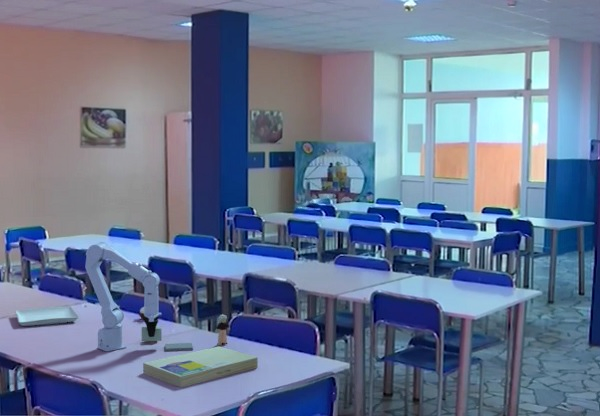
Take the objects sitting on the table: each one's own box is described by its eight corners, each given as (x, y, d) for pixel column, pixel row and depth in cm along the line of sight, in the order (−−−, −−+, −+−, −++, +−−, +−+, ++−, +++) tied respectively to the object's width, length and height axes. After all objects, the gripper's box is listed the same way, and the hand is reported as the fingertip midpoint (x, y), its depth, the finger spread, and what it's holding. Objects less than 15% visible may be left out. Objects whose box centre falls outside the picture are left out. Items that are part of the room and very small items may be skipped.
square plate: (14, 317, 368) (14, 309, 368) (71, 313, 380) (71, 305, 379) (18, 329, 344) (18, 320, 343) (79, 324, 355) (79, 315, 355)
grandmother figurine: (220, 346, 313) (220, 316, 312) (213, 344, 315) (213, 315, 315) (232, 342, 319) (232, 313, 318) (225, 341, 322) (225, 312, 321)
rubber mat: (191, 345, 315) (191, 342, 315) (192, 349, 307) (192, 347, 307) (165, 346, 313) (165, 343, 313) (165, 351, 305) (165, 348, 305)
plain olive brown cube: (157, 343, 318) (157, 332, 318) (146, 343, 318) (146, 333, 317) (157, 340, 323) (157, 330, 323) (146, 340, 322) (146, 330, 322)
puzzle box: (258, 369, 282) (219, 356, 299) (258, 357, 282) (219, 345, 299) (179, 389, 257) (141, 374, 274) (179, 376, 257) (141, 362, 274)
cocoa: (136, 319, 365) (135, 295, 364) (147, 317, 370) (146, 293, 369) (147, 322, 358) (145, 297, 358) (158, 319, 363) (156, 295, 362)
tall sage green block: (161, 338, 311) (161, 326, 311) (161, 340, 307) (161, 328, 307) (141, 339, 309) (141, 327, 309) (141, 341, 306) (141, 329, 305)
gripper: (161, 306, 301) (161, 339, 302) (161, 299, 315) (161, 330, 316) (143, 306, 299) (143, 339, 300) (144, 299, 314) (144, 331, 315)
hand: (151, 335), depth 308 cm, fingers closed on tall sage green block, 4 cm apart
